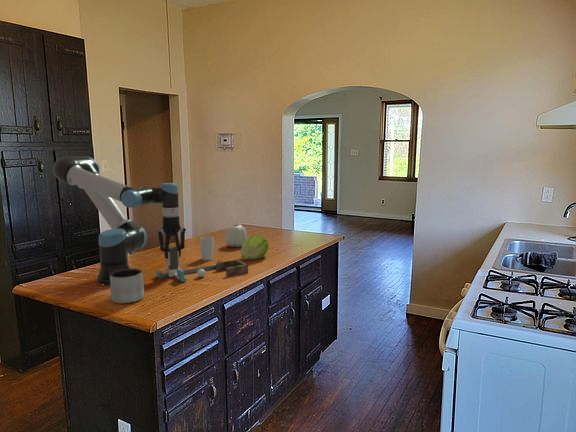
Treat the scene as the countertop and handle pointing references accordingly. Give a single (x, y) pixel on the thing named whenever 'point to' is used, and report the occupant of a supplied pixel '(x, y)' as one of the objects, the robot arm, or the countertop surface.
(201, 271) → the ball
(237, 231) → the vase
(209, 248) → the mug
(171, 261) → the carriage
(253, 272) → the countertop surface
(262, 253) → the lettuce
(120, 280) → the planter
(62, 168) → the robot arm
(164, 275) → the rail
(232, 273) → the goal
